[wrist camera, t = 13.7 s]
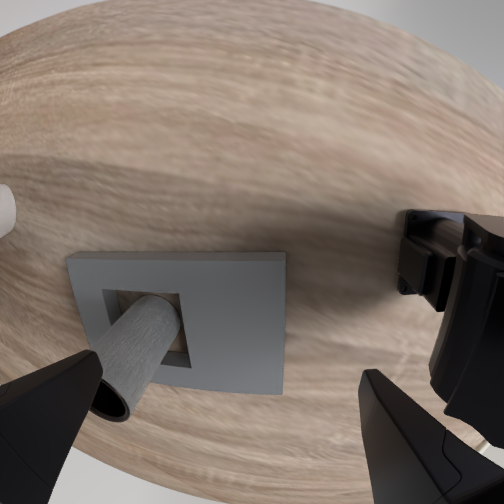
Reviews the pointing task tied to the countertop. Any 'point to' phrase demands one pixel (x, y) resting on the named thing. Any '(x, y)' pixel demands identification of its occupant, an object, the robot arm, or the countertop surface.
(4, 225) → the dixie cup
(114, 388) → the gray tube
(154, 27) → the countertop surface
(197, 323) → the socket board
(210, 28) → the countertop surface
